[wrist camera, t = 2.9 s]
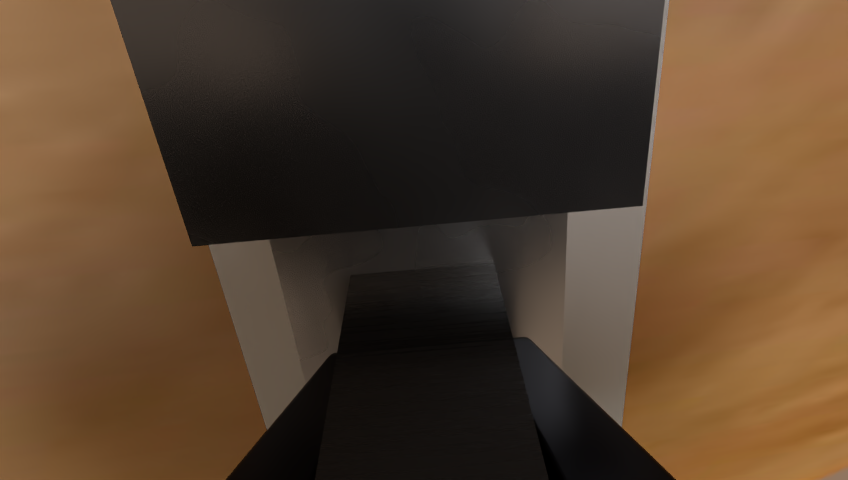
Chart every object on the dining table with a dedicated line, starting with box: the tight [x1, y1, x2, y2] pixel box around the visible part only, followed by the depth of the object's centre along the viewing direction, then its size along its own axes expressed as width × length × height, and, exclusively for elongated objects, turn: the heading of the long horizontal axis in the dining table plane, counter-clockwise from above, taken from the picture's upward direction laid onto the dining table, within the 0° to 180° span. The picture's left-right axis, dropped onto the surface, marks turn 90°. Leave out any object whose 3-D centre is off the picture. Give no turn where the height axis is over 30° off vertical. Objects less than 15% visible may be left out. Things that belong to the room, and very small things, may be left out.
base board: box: [209, 0, 669, 430], centre depth 13 cm, size 25×10×1 cm, turn 5°
